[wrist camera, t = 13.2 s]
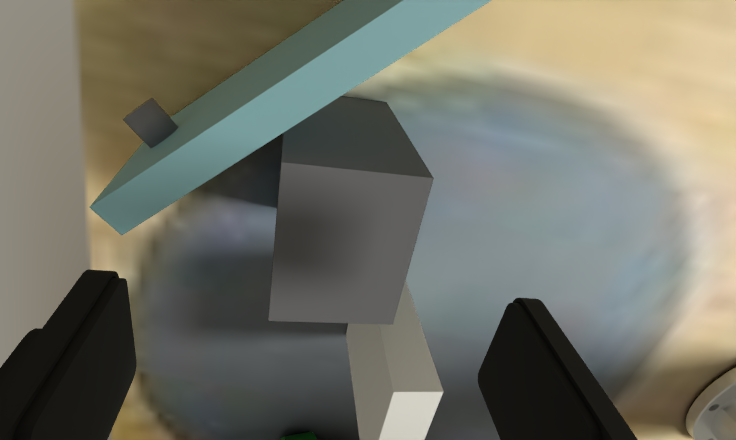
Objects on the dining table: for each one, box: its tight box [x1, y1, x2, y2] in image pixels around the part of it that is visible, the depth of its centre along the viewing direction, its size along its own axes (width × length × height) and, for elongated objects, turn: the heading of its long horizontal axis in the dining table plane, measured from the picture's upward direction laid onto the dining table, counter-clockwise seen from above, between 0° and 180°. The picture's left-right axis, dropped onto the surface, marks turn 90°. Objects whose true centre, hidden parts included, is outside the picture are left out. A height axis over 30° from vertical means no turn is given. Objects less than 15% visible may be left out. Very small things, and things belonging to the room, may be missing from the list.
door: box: [90, 0, 491, 235], centre depth 15 cm, size 2×13×7 cm, turn 120°
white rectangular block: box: [346, 280, 443, 440], centre depth 17 cm, size 2×27×9 cm, turn 169°
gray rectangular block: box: [268, 96, 433, 325], centre depth 17 cm, size 4×6×8 cm
